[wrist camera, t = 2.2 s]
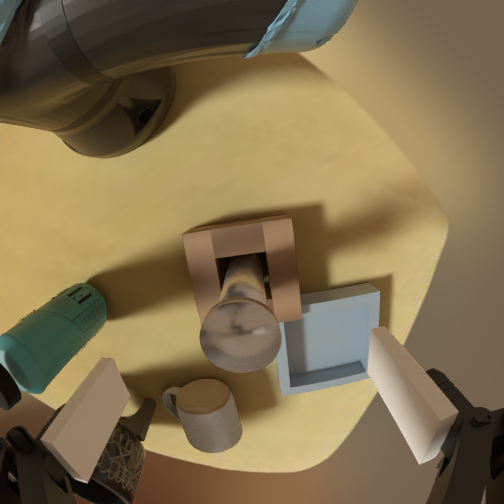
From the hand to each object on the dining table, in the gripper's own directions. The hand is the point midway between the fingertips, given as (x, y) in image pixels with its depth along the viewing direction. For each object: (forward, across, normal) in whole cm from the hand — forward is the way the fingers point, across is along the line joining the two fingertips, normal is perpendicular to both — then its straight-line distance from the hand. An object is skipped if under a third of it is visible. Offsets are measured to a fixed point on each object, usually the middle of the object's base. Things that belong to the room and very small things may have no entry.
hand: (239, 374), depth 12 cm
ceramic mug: (+18, -9, -18) cm, 27 cm away
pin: (+18, 0, 0) cm, 18 cm away
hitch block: (+18, 0, 0) cm, 18 cm away
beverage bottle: (+18, -20, -2) cm, 27 cm away
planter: (+18, -22, -19) cm, 34 cm away
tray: (+18, +8, -10) cm, 22 cm away
